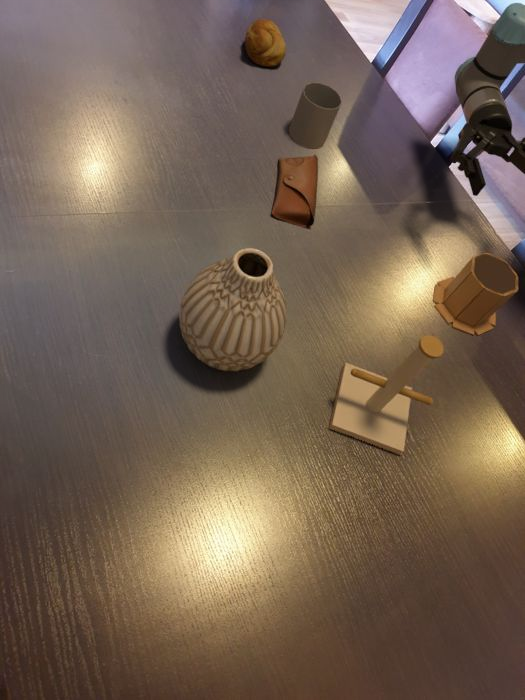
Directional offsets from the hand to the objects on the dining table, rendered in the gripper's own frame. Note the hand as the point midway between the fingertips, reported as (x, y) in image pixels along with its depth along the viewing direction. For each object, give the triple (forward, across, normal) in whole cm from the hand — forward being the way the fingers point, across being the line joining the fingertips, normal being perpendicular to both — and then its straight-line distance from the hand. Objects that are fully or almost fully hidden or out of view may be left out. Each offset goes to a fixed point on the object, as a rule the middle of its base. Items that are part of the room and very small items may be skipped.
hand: (513, 197), depth 99 cm
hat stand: (+34, +23, -19) cm, 45 cm away
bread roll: (-58, +40, -20) cm, 73 cm away
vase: (+25, +47, -19) cm, 57 cm away
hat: (+10, 0, -19) cm, 22 cm away
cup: (-31, +30, -20) cm, 47 cm away
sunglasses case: (-12, +34, -20) cm, 41 cm away
